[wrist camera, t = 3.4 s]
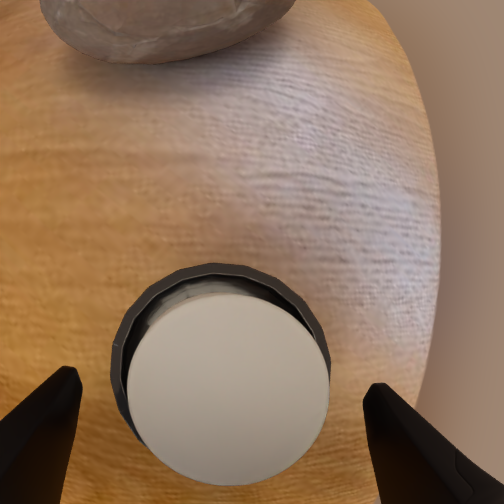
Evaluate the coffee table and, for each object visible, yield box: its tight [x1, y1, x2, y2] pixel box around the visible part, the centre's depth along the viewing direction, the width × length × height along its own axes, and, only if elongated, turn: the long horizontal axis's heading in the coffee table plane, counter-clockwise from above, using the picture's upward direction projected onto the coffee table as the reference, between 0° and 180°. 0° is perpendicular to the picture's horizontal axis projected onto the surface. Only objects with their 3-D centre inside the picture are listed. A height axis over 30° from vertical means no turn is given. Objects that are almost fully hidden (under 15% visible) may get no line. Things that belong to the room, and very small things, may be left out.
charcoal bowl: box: [110, 263, 331, 450], centre depth 14 cm, size 9×9×4 cm
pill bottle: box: [127, 292, 330, 486], centre depth 11 cm, size 6×6×10 cm
